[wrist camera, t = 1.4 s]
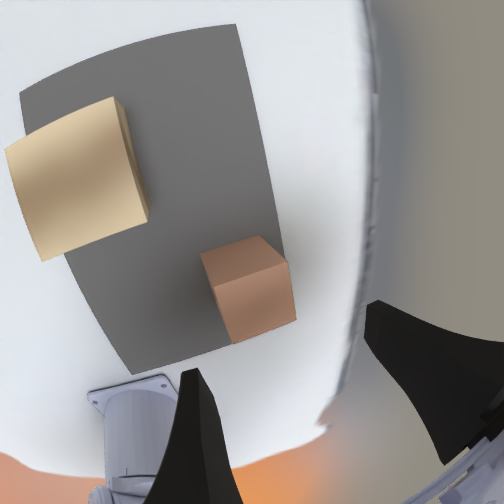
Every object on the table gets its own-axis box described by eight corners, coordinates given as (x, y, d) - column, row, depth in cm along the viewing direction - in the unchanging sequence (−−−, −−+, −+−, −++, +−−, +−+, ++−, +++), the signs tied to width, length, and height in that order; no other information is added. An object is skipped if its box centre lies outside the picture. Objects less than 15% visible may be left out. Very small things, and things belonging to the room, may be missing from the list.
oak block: (150, 204, 16) (147, 221, 12) (64, 236, 14) (41, 262, 11) (124, 107, 13) (113, 96, 10) (35, 146, 12) (4, 149, 8)
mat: (292, 317, 23) (294, 319, 22) (131, 371, 20) (132, 374, 20) (234, 25, 13) (235, 23, 13) (21, 93, 10) (19, 92, 10)
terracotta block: (269, 285, 20) (296, 319, 16) (216, 304, 19) (232, 344, 16) (258, 234, 19) (287, 261, 15) (200, 253, 18) (213, 287, 14)
